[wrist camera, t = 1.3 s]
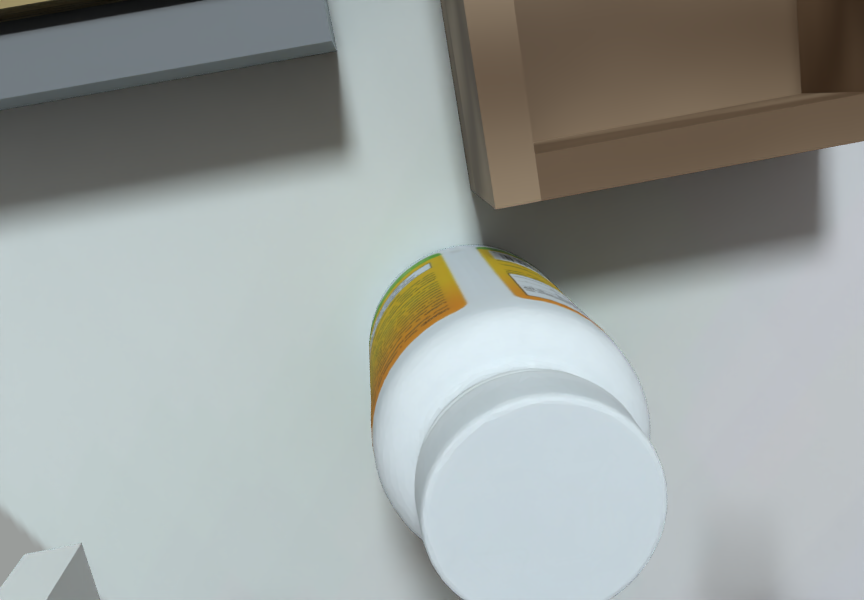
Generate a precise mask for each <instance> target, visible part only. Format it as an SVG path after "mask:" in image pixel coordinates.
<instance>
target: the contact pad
mask: <svg viewBox="0 0 864 600" xmlns="http://www.w3.org/2000/svg"><path fill="white" fill-rule="evenodd" d="M122 1H128V0H0V22H6V21H12V20H17V19H23V18H29V17H35V16H41V15H46V14H52V13H58V12H64V11H70V10H75V9H81V8H87V7H93V6H99V5H104V4H110V3H116V2H122Z"/></svg>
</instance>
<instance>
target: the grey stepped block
mask: <svg viewBox="0 0 864 600" xmlns="http://www.w3.org/2000/svg"><path fill="white" fill-rule="evenodd" d="M333 51H337V50H336V45H335V39H334V34H333V29H332V24H331V19H330V14H329V9H328V4H327V0H128V1H122V2H116V3H110V4H104V5H99V6H93V7H87V8H81V9H75V10H70V11H64V12H58V13H52V14H46V15H41V16H35V17H29V18H23V19H17V20H12V21H6V22H0V110H5V109H10V108H16V107H21V106H27V105H33V104H38V103H44V102H50V101H55V100H61V99H67V98H72V97H78V96H84V95H89V94H95V93H101V92H106V91H112V90H118V89H123V88H129V87H135V86H140V85H146V84H152V83H157V82H163V81H169V80H174V79H180V78H186V77H191V76H197V75H203V74H208V73H214V72H220V71H225V70H231V69H237V68H242V67H248V66H254V65H259V64H265V63H271V62H276V61H282V60H288V59H293V58H299V57H305V56H310V55H316V54H321V53H327V52H333Z"/></svg>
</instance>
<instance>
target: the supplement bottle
mask: <svg viewBox="0 0 864 600" xmlns="http://www.w3.org/2000/svg"><path fill="white" fill-rule="evenodd" d="M369 359H370V387H371V428H372V446H373V451H374V456H375V462H376V468H377V471H378V475H379V478H380V481H381V484H382V486H383V489H384V491H385V493H386V495H387V497H388V499H389V501H390V503H391V504H392V506H393V507H394V509H395V510H396V512H397V513H398V515H399V516H400V517H401V519H402V520H403V521H404V522H405V524H406V525H407V526H408V527H409V528H410V530H412V531H413V532H414V533H415V534H416V535H417V536H418V537H419V538H421V539H422V540H423V543H424V546H425V549H426V551H427V554H428V557H429V559H430V561H431V563H432V565H433V567H434V569H435V570H436V572H437V573H438V575H439V576H440V577H441V579H442V580H443V581H444V583H445V584H446V585H447V586H448V587H449V588H450V589H451V590H452V591H453V592H454V593H455V594H457V595H458V596H459V597H460V598H462V599H463V600H610V599H611V598H613V597H614V596H616V595H617V594H619V593H620V592H621V591H622V590H623V589H624V588H626V587H627V586H628V585H629V584H630V583H631V582H632V581H633V580H634V579H635V578H636V577H637V576H638V575H639V573H640V572H641V571H642V569H643V568H644V567H645V565H646V564H647V563H648V561H649V559H650V558H651V556H652V554H653V552H654V550H655V548H656V546H657V544H658V542H659V540H660V537H661V534H662V532H663V528H664V524H665V520H666V514H667V500H668V498H667V485H666V480H665V474H664V470H663V467H662V465H661V462H660V460H659V457H658V455H657V452H656V450H655V448H654V447H653V445H652V444H651V442H650V417H649V411H648V406H647V401H646V397H645V394H644V391H643V388H642V386H641V383H640V381H639V379H638V377H637V375H636V373H635V371H634V369H633V367H632V366H631V364H630V363H629V361H628V360H627V358H626V357H625V355H624V354H623V352H622V351H621V350H620V349H619V348H618V346H617V345H616V344H615V343H614V341H613V340H612V339H611V338H610V337H609V336H608V335H607V334H606V333H605V332H604V331H603V330H602V329H601V328H600V327H599V326H598V325H597V324H596V323H595V322H593V321H592V320H591V319H590V318H589V317H588V316H587V315H586V314H585V313H583V312H582V311H581V310H580V309H579V308H578V307H577V306H576V305H575V304H574V303H573V302H572V301H571V300H570V299H568V298H567V297H566V296H565V295H564V294H563V293H562V292H561V291H560V290H559V289H558V288H557V287H556V286H555V285H554V284H553V283H551V282H550V281H549V280H548V279H547V278H546V277H545V276H544V275H543V274H542V273H541V272H540V271H538V270H537V269H536V268H535V267H534V266H532V265H531V264H529V263H528V262H526V261H525V260H523V259H521V258H520V257H518V256H516V255H514V254H512V253H509V252H507V251H504V250H501V249H498V248H494V247H489V246H483V245H460V246H453V247H449V248H445V249H441V250H438V251H435V252H433V253H430V254H428V255H426V256H424V257H423V258H421V259H419V260H417V261H416V262H414V263H413V264H411V265H410V266H409V267H407V268H406V269H405V270H404V271H403V272H402V273H400V274H399V275H398V276H397V278H396V279H395V280H394V281H393V282H392V283H391V284H390V286H389V287H388V288H387V290H386V291H385V293H384V295H383V296H382V298H381V300H380V302H379V304H378V306H377V309H376V311H375V314H374V317H373V321H372V326H371V332H370V341H369Z"/></svg>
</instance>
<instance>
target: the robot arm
mask: <svg viewBox="0 0 864 600" xmlns="http://www.w3.org/2000/svg"><path fill="white" fill-rule="evenodd" d="M0 600H100V598H99V594H98V591H97V588H96V585H95V582H94V579H93V576H92V573H91V570H90V567H89V564H88V561H87V558H86V555H85V552H84V549H83V546H82V543H79V544H74V545H69V546H64V547H59V548H54V549H49V550H43V551H39V552H34V553H28V554H25V555H24V556H23V557H22V559H21V560H20V561H19V563H18V564H17V566H16V567H15V568H14V570H13V571H12V572H11V574H10V575H9V576H8V578H7V579H6V581H5V582H4V583H3V585H2V586H1V587H0Z"/></svg>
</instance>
